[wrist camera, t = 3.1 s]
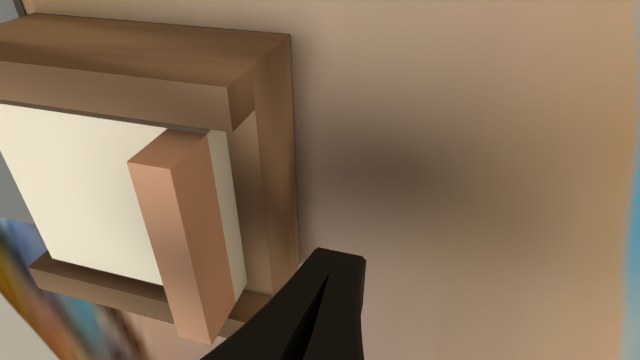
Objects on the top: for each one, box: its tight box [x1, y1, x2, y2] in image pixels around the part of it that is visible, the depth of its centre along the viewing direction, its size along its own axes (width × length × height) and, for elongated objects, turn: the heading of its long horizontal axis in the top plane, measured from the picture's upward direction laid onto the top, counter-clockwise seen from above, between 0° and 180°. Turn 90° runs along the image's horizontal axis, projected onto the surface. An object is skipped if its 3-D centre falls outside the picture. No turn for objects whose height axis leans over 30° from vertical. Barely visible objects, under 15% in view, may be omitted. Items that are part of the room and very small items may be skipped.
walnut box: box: [0, 13, 300, 338], centre depth 16 cm, size 10×10×4 cm
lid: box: [0, 99, 247, 346], centre depth 14 cm, size 7×8×3 cm
